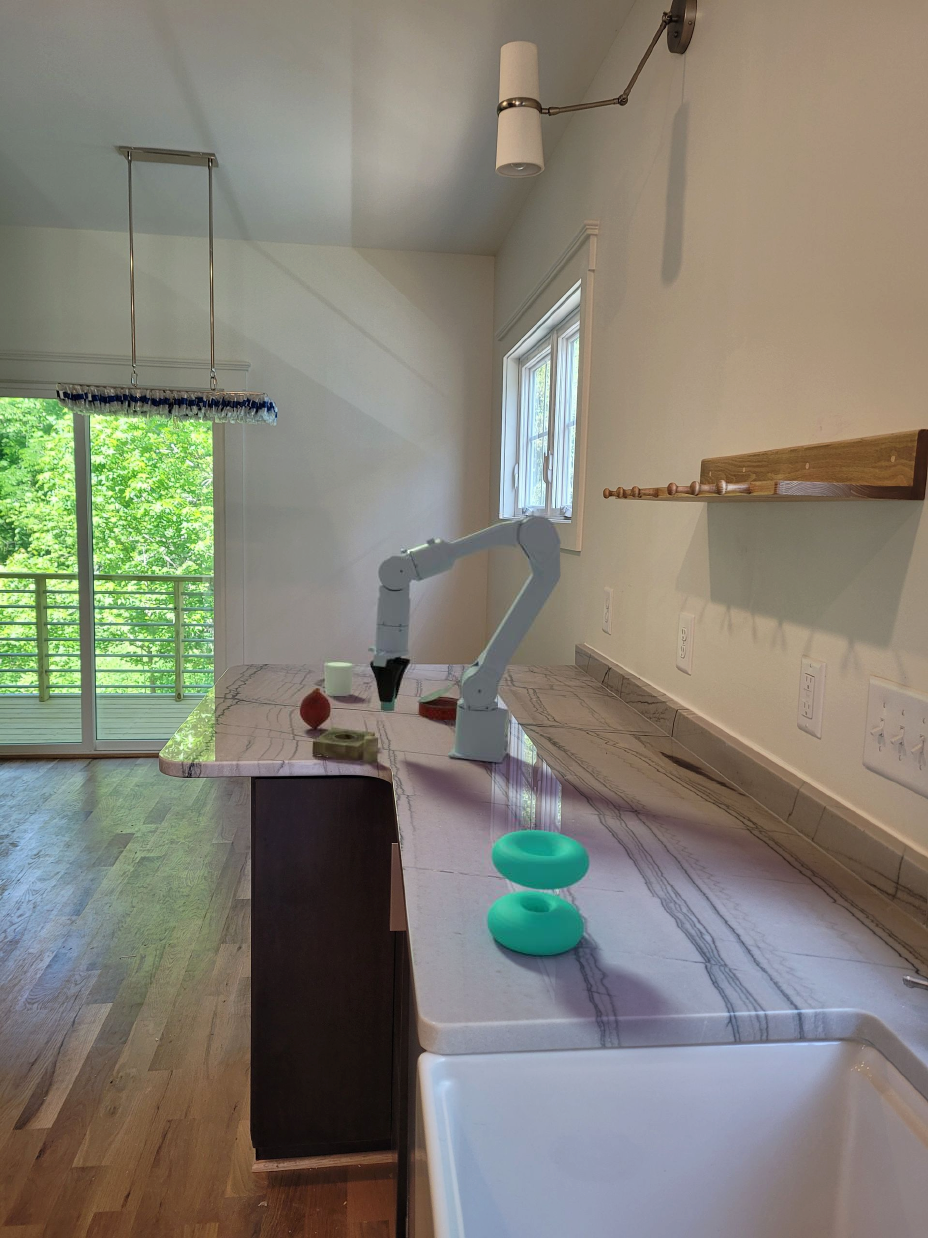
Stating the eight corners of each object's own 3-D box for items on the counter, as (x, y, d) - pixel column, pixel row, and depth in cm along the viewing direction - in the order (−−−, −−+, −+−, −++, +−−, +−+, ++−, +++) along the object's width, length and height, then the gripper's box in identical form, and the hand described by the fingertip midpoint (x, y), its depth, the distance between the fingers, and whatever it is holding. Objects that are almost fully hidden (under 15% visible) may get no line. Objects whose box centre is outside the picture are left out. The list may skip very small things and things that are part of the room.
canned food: (443, 743, 180) (431, 704, 176) (413, 727, 188) (401, 689, 183) (482, 714, 186) (472, 675, 181) (452, 699, 193) (441, 662, 188)
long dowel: (395, 709, 156) (398, 673, 155) (392, 711, 154) (394, 675, 153) (382, 707, 156) (384, 671, 156) (378, 710, 154) (381, 674, 153)
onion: (323, 734, 164) (325, 692, 163) (294, 730, 165) (295, 689, 164) (333, 726, 169) (335, 686, 168) (305, 723, 170) (307, 683, 169)
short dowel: (378, 759, 149) (380, 737, 149) (374, 763, 147) (376, 740, 147) (365, 758, 150) (366, 735, 149) (361, 762, 148) (362, 738, 147)
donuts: (599, 865, 85) (497, 861, 84) (591, 962, 86) (490, 959, 85) (580, 828, 95) (488, 824, 94) (573, 915, 96) (482, 912, 95)
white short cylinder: (359, 694, 199) (361, 664, 199) (339, 698, 194) (341, 667, 193) (336, 689, 203) (337, 659, 202) (316, 693, 197) (317, 663, 196)
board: (374, 746, 158) (374, 732, 157) (357, 761, 148) (357, 746, 148) (331, 741, 159) (332, 727, 159) (312, 755, 149) (312, 741, 149)
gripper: (382, 617, 161) (378, 689, 163) (358, 626, 147) (353, 705, 148) (419, 621, 160) (415, 694, 161) (398, 630, 145) (393, 710, 147)
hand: (388, 700), depth 155 cm, fingers closed on long dowel, 2 cm apart
